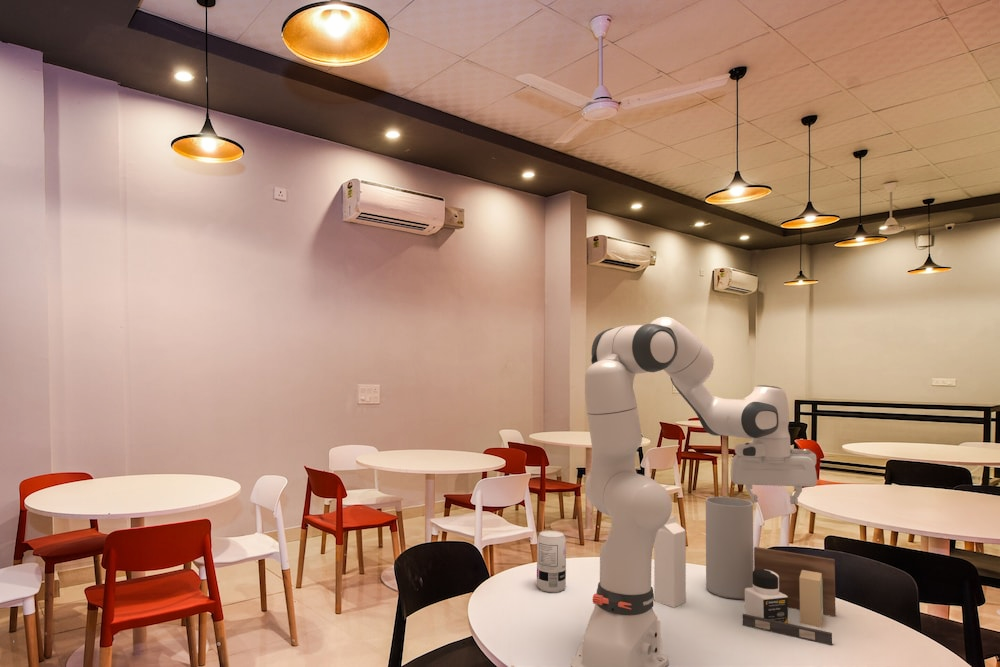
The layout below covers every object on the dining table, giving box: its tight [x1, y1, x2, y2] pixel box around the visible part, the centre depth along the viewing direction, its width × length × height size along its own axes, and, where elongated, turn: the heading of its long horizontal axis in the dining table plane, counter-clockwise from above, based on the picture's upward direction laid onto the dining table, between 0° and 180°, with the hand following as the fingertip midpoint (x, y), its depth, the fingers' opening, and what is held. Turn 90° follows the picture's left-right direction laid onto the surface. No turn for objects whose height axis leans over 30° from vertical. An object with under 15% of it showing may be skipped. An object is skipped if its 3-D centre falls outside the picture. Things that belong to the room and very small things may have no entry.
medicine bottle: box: [744, 569, 789, 623], centre depth 146 cm, size 7×7×12 cm
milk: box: [653, 516, 687, 608], centre depth 158 cm, size 6×6×22 cm
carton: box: [799, 570, 824, 628], centre depth 147 cm, size 5×7×11 cm
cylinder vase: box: [705, 496, 754, 600], centre depth 166 cm, size 12×12×25 cm
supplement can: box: [536, 529, 567, 593], centre depth 167 cm, size 8×8×15 cm
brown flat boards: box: [742, 546, 837, 646], centre depth 147 cm, size 20×19×14 cm
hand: (773, 502), depth 151 cm, fingers open, 8 cm apart
